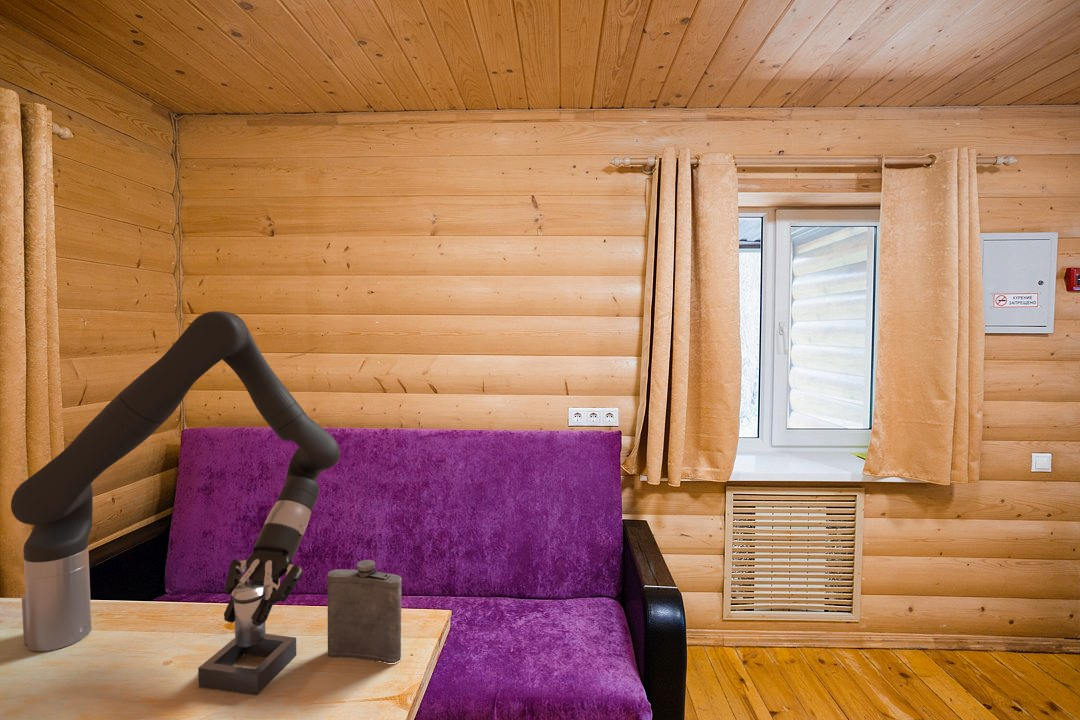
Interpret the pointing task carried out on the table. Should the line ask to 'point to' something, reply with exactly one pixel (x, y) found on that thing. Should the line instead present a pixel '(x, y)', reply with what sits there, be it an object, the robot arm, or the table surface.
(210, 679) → the square frame
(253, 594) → the silver metal cylinder
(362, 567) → the flask
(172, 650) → the table surface
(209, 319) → the robot arm
